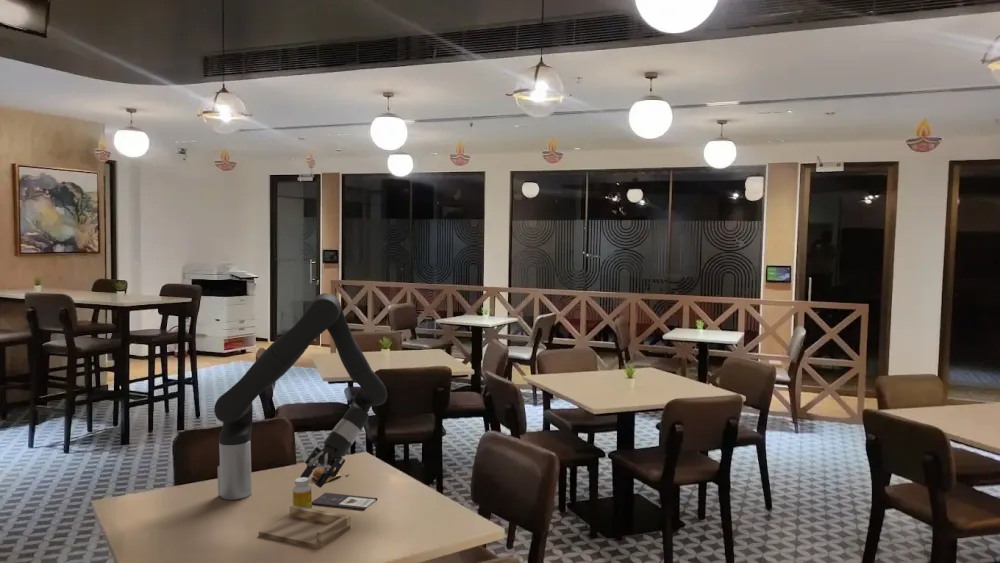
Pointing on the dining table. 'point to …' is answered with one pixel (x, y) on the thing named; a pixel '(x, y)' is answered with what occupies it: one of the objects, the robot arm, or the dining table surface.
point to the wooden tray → (308, 527)
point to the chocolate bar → (344, 501)
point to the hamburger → (320, 470)
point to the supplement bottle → (302, 493)
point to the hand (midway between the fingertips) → (310, 482)
